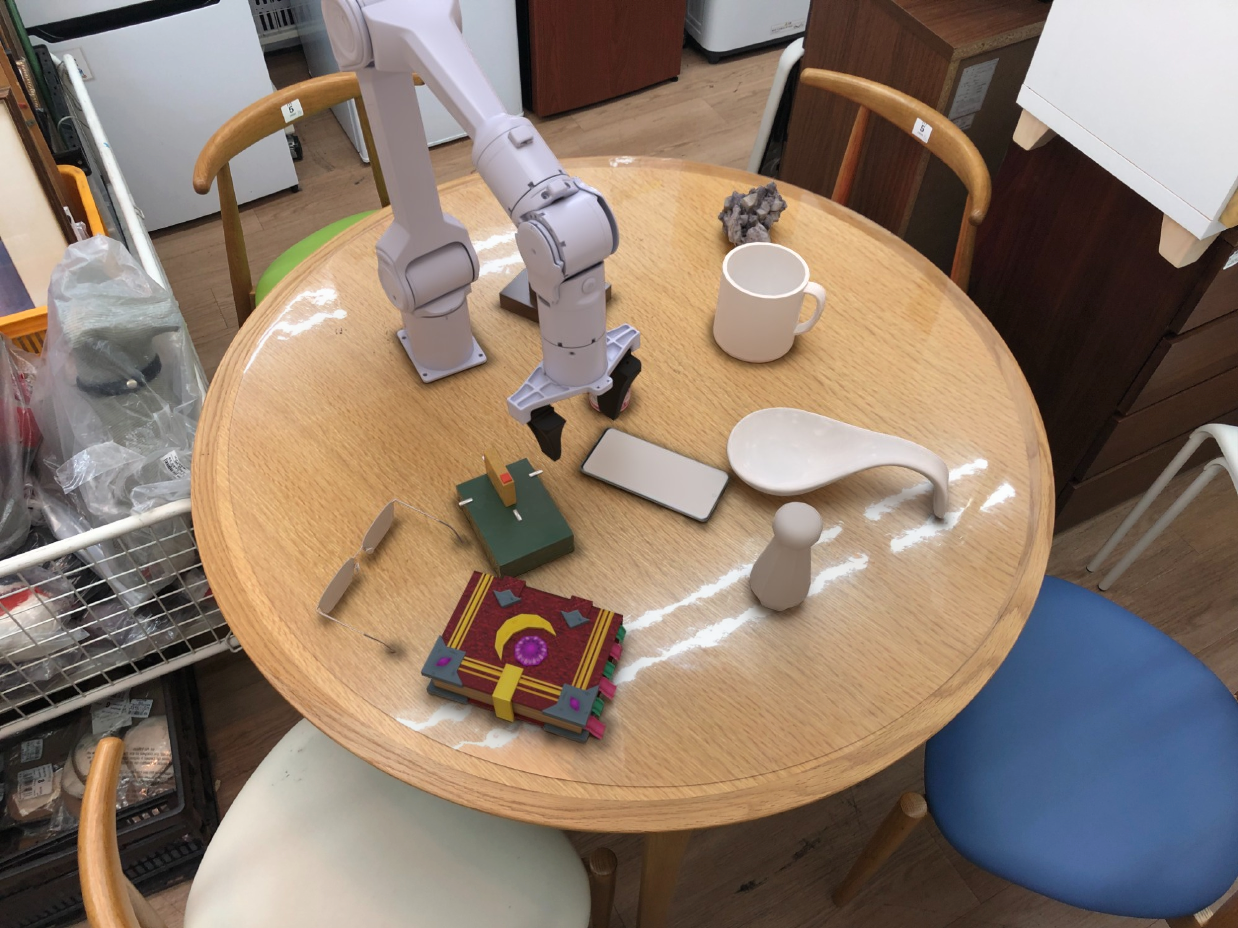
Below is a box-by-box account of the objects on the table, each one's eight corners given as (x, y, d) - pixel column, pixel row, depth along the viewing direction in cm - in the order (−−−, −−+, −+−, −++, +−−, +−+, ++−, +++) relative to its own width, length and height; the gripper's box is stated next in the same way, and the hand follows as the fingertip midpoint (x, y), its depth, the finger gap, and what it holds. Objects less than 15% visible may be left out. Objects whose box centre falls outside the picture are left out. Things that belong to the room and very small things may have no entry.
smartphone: (607, 425, 99) (731, 474, 95) (607, 428, 100) (731, 477, 96) (578, 468, 95) (706, 521, 91) (578, 472, 96) (705, 524, 92)
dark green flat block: (445, 490, 94) (441, 472, 92) (524, 459, 97) (523, 440, 94) (496, 585, 87) (493, 568, 85) (579, 548, 90) (579, 530, 87)
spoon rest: (715, 500, 94) (723, 458, 88) (732, 420, 101) (740, 376, 96) (942, 547, 91) (966, 506, 85) (943, 460, 98) (965, 417, 93)
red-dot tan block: (486, 472, 92) (482, 449, 89) (496, 468, 92) (493, 445, 89) (506, 507, 89) (503, 484, 86) (516, 503, 89) (514, 479, 86)
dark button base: (500, 306, 112) (497, 281, 109) (540, 267, 117) (538, 243, 114) (573, 339, 109) (572, 314, 106) (611, 297, 114) (612, 273, 111)
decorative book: (478, 590, 87) (473, 563, 83) (636, 638, 84) (638, 612, 80) (427, 694, 80) (419, 670, 76) (597, 750, 77) (597, 728, 73)
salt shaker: (742, 568, 89) (761, 491, 79) (798, 565, 89) (824, 488, 79) (752, 621, 85) (774, 546, 75) (811, 617, 86) (840, 542, 75)
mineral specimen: (769, 262, 113) (769, 180, 110) (702, 263, 117) (700, 184, 115) (800, 254, 123) (800, 179, 120) (737, 256, 128) (736, 183, 125)
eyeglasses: (397, 514, 92) (393, 492, 89) (466, 543, 91) (465, 522, 87) (319, 625, 84) (311, 605, 81) (394, 659, 83) (389, 640, 79)
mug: (700, 348, 108) (709, 282, 100) (728, 299, 114) (739, 233, 106) (799, 380, 105) (816, 315, 97) (823, 328, 111) (841, 263, 103)
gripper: (539, 391, 71) (551, 497, 81) (665, 309, 78) (661, 417, 88) (484, 349, 75) (502, 456, 85) (609, 274, 81) (612, 382, 91)
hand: (580, 434), depth 87 cm, fingers open, 7 cm apart
